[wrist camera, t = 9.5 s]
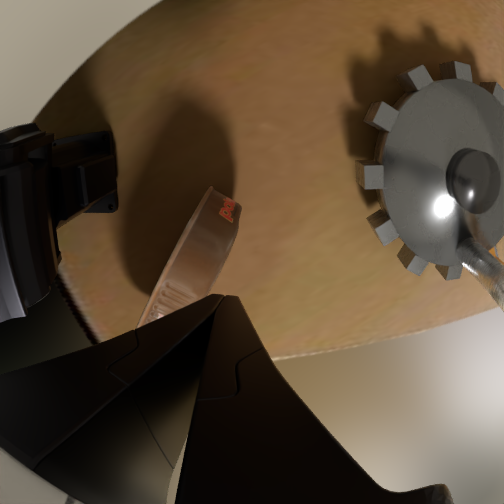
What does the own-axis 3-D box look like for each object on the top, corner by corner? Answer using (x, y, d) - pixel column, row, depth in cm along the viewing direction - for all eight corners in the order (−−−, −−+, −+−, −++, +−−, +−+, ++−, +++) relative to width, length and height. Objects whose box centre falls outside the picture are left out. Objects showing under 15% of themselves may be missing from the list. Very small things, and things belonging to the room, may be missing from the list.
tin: (218, 171, 19) (178, 209, 12) (257, 195, 20) (242, 248, 12) (144, 310, 25) (106, 376, 18) (173, 327, 26) (142, 396, 18)
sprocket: (407, 299, 21) (458, 403, 11) (308, 129, 16) (351, 145, 6) (529, 207, 15) (606, 263, 6) (469, 38, 11) (571, 22, 1)
